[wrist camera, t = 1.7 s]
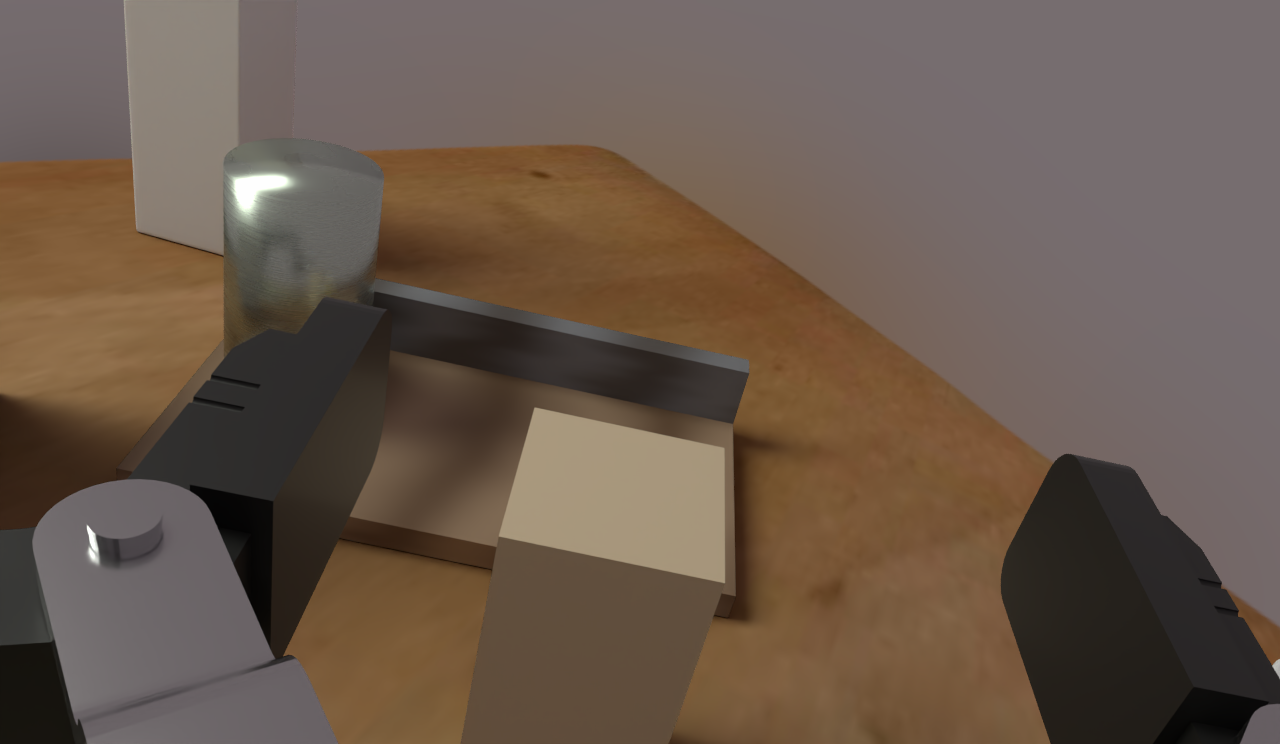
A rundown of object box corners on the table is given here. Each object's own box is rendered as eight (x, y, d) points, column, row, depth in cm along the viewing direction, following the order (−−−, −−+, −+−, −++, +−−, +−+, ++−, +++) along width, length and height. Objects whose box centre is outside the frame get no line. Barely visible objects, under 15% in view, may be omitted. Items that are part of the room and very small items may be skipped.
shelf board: (117, 492, 39) (111, 403, 37) (251, 325, 50) (252, 249, 48) (727, 617, 41) (756, 539, 38) (726, 427, 52) (748, 358, 50)
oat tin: (200, 400, 43) (196, 178, 38) (255, 330, 48) (258, 127, 43) (342, 430, 43) (358, 214, 38) (382, 358, 48) (401, 159, 43)
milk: (290, 221, 60) (309, -198, 49) (238, 262, 55) (245, -194, 44) (192, 193, 61) (188, -230, 49) (131, 232, 55) (110, -231, 44)
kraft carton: (443, 835, 31) (498, 536, 24) (481, 686, 35) (535, 404, 29) (624, 869, 31) (725, 583, 25) (637, 717, 36) (724, 445, 29)
